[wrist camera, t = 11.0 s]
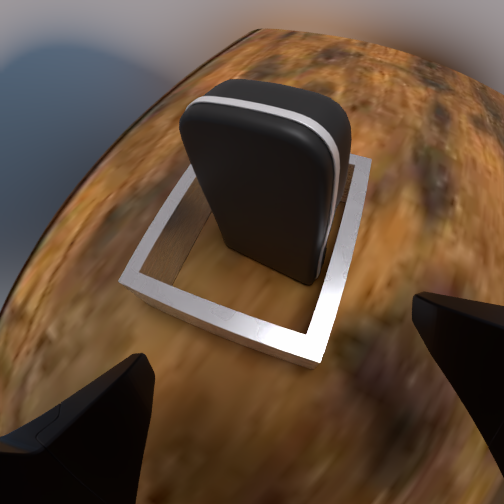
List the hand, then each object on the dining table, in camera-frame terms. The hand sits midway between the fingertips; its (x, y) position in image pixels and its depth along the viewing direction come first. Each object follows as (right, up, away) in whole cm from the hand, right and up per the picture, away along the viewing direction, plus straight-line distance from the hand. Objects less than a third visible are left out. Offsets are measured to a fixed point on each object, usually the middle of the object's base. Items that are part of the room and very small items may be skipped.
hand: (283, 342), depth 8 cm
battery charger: (+1, +3, +11) cm, 12 cm away
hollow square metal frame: (0, +3, +11) cm, 11 cm away
